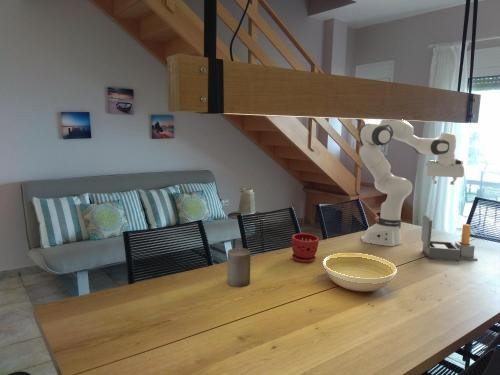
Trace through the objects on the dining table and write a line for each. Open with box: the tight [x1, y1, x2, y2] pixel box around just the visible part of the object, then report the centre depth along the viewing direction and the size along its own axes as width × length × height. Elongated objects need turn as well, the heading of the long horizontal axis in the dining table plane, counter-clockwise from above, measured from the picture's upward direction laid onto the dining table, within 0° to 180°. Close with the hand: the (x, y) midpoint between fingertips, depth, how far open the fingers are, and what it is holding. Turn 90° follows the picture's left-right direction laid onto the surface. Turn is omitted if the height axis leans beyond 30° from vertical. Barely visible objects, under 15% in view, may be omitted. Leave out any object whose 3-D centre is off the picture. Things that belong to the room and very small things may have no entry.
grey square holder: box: [454, 241, 478, 261], centre depth 200 cm, size 10×10×7 cm
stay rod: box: [460, 223, 472, 245], centre depth 200 cm, size 4×4×16 cm
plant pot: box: [291, 233, 320, 264], centre depth 190 cm, size 13×13×12 cm
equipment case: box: [420, 214, 460, 262], centre depth 200 cm, size 15×14×20 cm
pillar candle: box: [226, 247, 251, 288], centre depth 160 cm, size 10×10×15 cm
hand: (443, 184), depth 226 cm, fingers open, 8 cm apart
